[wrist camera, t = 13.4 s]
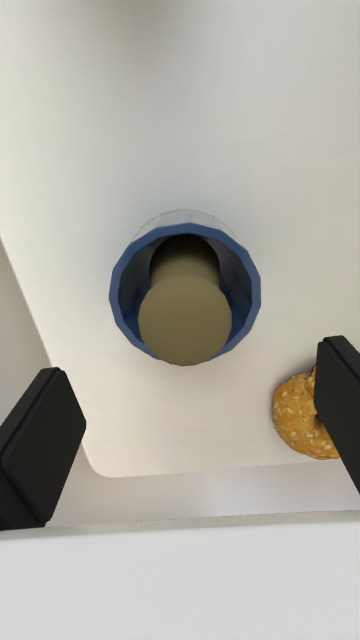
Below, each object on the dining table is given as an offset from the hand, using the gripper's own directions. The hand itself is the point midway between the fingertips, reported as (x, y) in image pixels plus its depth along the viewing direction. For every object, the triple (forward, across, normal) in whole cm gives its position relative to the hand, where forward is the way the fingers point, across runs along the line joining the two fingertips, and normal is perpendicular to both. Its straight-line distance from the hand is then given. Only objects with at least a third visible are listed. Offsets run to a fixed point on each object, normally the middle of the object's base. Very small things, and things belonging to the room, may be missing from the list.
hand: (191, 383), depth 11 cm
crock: (+16, 0, +1) cm, 16 cm away
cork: (+15, 0, +1) cm, 15 cm away
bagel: (+16, -12, +17) cm, 26 cm away
